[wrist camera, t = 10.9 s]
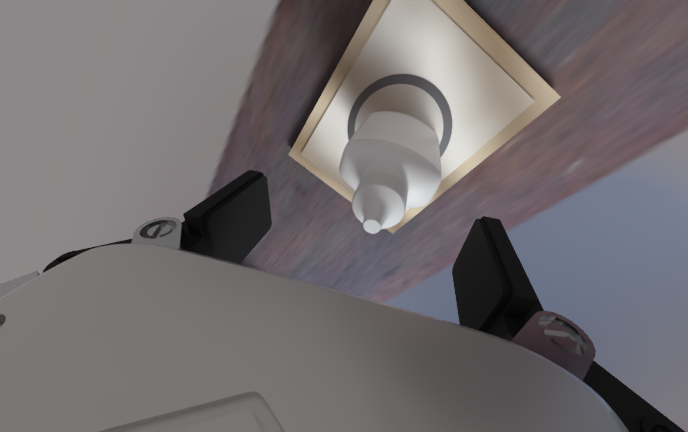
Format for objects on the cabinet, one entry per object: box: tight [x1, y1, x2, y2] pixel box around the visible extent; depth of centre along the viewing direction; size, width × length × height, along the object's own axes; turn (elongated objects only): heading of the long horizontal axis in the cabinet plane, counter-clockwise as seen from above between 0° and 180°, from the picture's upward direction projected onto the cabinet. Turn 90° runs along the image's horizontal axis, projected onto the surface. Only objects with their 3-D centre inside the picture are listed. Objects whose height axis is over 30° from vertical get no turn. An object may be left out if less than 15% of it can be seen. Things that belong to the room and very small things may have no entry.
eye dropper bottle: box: [339, 111, 442, 234], centre depth 14 cm, size 4×6×12 cm
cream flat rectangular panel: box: [289, 0, 561, 233], centre depth 19 cm, size 16×13×1 cm
